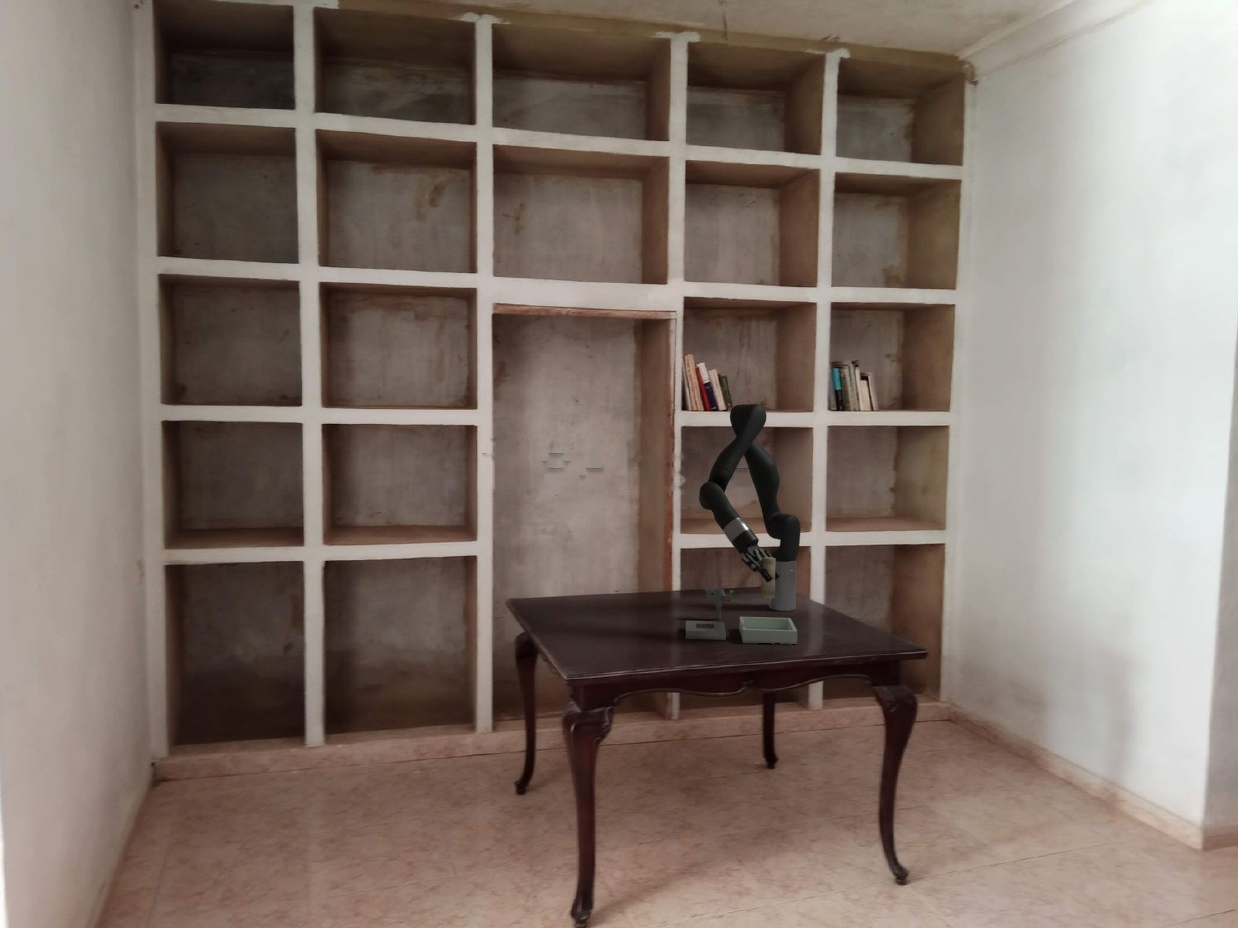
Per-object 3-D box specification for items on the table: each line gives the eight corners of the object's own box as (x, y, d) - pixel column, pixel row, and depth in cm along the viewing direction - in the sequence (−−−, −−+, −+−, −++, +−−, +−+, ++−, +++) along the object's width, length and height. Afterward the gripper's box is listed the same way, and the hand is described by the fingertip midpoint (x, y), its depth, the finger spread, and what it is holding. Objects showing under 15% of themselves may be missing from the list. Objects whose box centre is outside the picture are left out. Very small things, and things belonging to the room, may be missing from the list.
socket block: (685, 628, 270) (685, 620, 270) (723, 629, 269) (723, 621, 269) (685, 638, 258) (685, 630, 258) (725, 639, 257) (725, 631, 257)
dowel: (760, 595, 263) (761, 557, 262) (773, 595, 262) (774, 557, 262) (761, 598, 259) (763, 559, 258) (775, 598, 259) (776, 559, 258)
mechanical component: (733, 621, 280) (734, 591, 279) (702, 619, 282) (703, 589, 281) (734, 618, 283) (735, 589, 282) (703, 617, 285) (704, 587, 284)
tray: (739, 629, 270) (739, 616, 270) (790, 630, 269) (790, 617, 269) (742, 642, 254) (743, 629, 254) (797, 644, 253) (797, 631, 253)
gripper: (736, 530, 258) (770, 575, 252) (759, 525, 270) (793, 568, 263) (721, 545, 262) (754, 590, 255) (744, 540, 273) (777, 583, 266)
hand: (774, 579), depth 259 cm, fingers closed on dowel, 4 cm apart
